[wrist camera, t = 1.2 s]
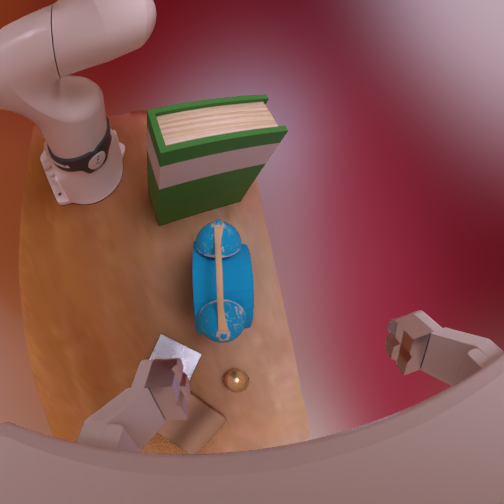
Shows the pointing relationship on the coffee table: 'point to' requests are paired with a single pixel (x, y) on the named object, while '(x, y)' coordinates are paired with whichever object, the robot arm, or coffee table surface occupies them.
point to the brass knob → (236, 380)
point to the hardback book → (207, 153)
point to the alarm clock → (222, 282)
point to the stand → (193, 426)
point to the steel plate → (176, 353)
